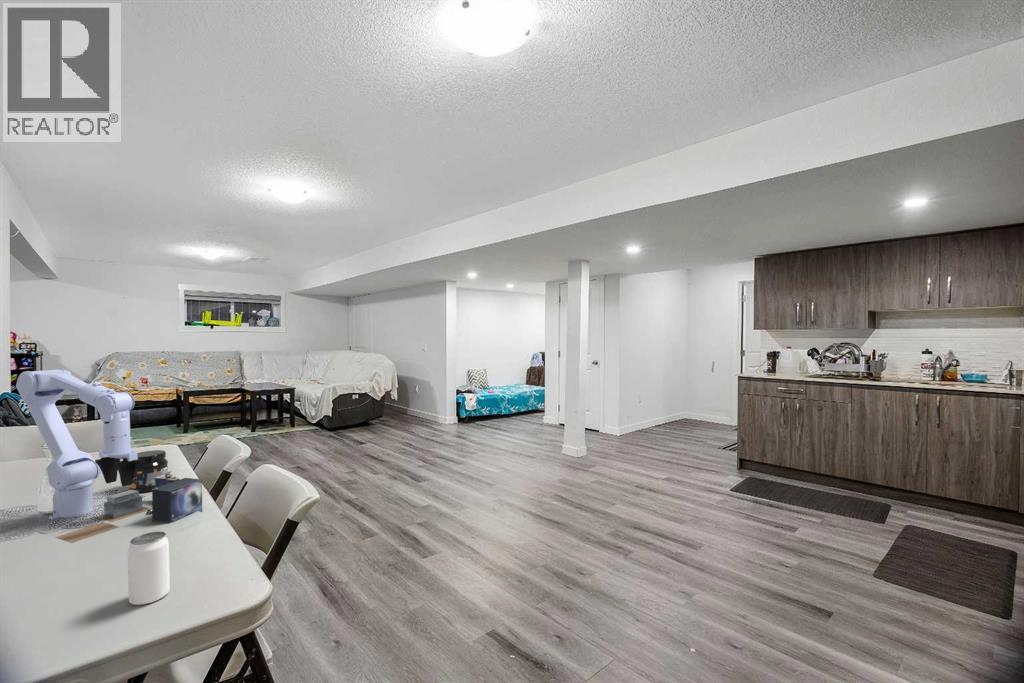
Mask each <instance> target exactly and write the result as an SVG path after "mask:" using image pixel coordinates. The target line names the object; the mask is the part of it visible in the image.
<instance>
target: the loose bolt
mask: <svg viewBox="0 0 1024 683" xmlns="http://www.w3.org/2000/svg"><path fill="white" fill-rule="evenodd" d="M145 515H146V516H150V515H152V508H151V509H149V510H148V511H146V512H145Z"/></svg>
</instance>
